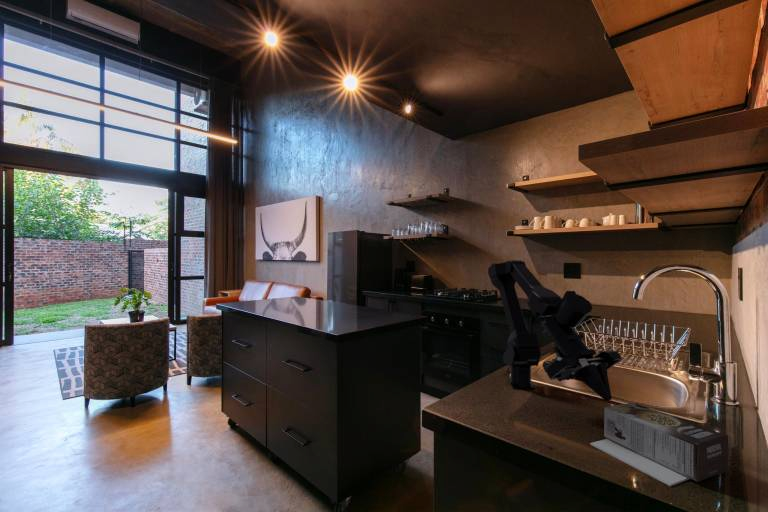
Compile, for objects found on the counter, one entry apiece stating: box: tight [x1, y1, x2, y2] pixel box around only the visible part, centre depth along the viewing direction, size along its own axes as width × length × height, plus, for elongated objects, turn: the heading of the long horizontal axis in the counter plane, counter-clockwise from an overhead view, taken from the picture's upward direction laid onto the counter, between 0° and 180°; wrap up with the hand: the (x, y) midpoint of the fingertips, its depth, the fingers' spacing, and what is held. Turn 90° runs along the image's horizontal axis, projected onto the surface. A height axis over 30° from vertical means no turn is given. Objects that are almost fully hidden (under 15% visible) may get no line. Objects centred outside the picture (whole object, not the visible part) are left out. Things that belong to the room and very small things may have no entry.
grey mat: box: [589, 438, 691, 487], centre depth 66 cm, size 14×14×1 cm
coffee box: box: [603, 401, 730, 483], centre depth 66 cm, size 9×6×16 cm
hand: (609, 400), depth 75 cm, fingers closed
